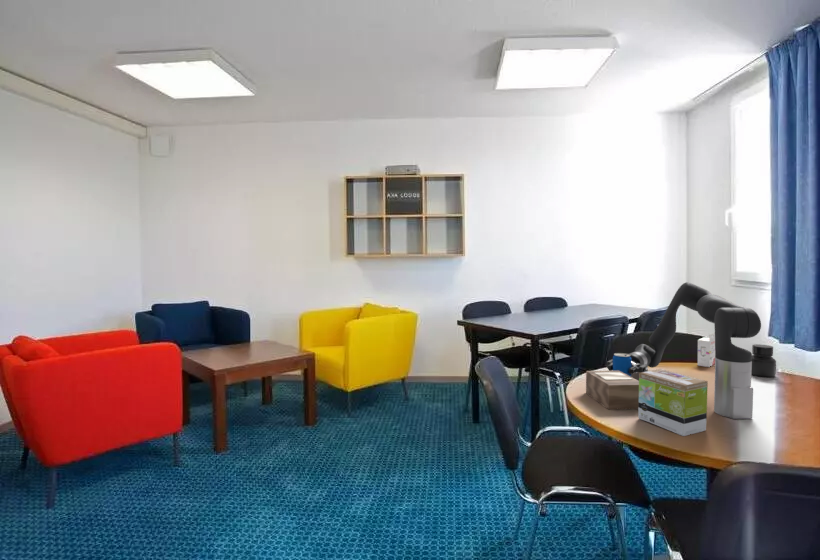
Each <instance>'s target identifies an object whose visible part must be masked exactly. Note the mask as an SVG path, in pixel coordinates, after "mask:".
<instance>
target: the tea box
mask: <svg viewBox="0 0 820 560" xmlns="http://www.w3.org/2000/svg"><path fill="white" fill-rule="evenodd" d="M638 381H639V403H638V409H637V411H638V412H637V413H638V415H637V416H638V419H639V420H641V421H645V422H648V423H650V424H653V425H655V426H658V427H660V428H662V429H665V430H666V431H667V430H668V431H670V432H671V433H672V432H673V433H674V434H676V435H679V436H682V437H685V436H690V434H691V435H693V434H698V433H701V432H704V431H707V418H708V417H707V413H708V412H707V411H708V385H709V384H708V381H707V380H704V379H701V378H698V377H694V376H690V375H685V374H682V373H678V372H674V371H670V370H666V369H663V368H659V369H653V370H648V371H647V372H641V373H640V372H638Z"/></svg>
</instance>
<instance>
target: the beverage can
mask: <svg viewBox="0 0 820 560" xmlns="http://www.w3.org/2000/svg"><path fill="white" fill-rule="evenodd" d="M629 354H630V353H623V352H615V353H613V356H612V359H613V370H612V371H621V372H623V373H625V374H627V375H629V376H630V377H632V375H631V374H629V369H630V368H631V362H632V359H631V357H630V355H629Z"/></svg>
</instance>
